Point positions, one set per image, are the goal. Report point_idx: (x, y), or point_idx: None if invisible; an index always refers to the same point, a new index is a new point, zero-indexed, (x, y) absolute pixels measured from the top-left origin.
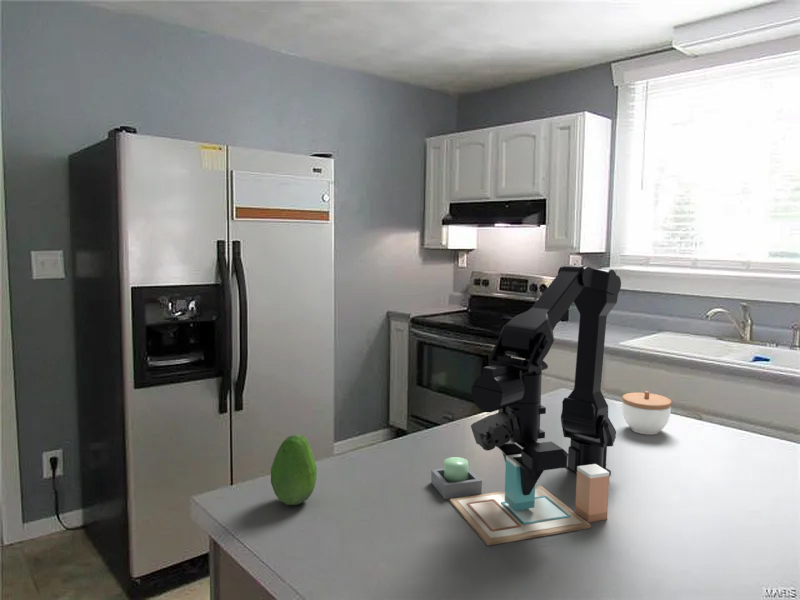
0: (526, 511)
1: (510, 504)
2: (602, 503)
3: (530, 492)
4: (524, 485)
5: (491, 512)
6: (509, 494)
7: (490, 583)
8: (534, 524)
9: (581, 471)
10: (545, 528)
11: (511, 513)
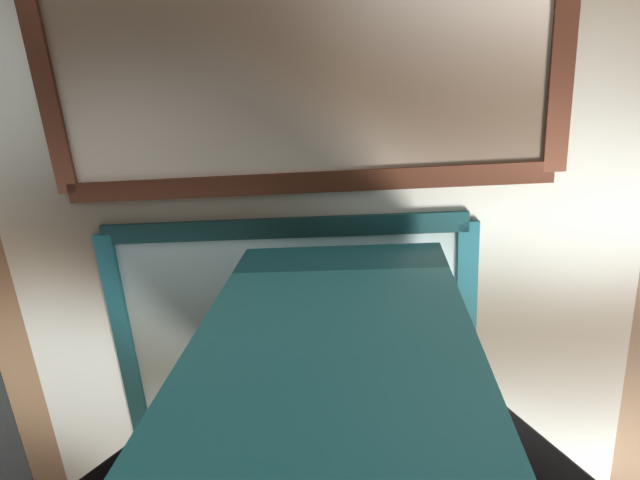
0: None
1: (328, 252)
2: None
3: None
4: (89, 474)
5: (330, 55)
6: (347, 286)
7: None
8: (93, 305)
9: None
10: (31, 346)
11: (272, 218)
